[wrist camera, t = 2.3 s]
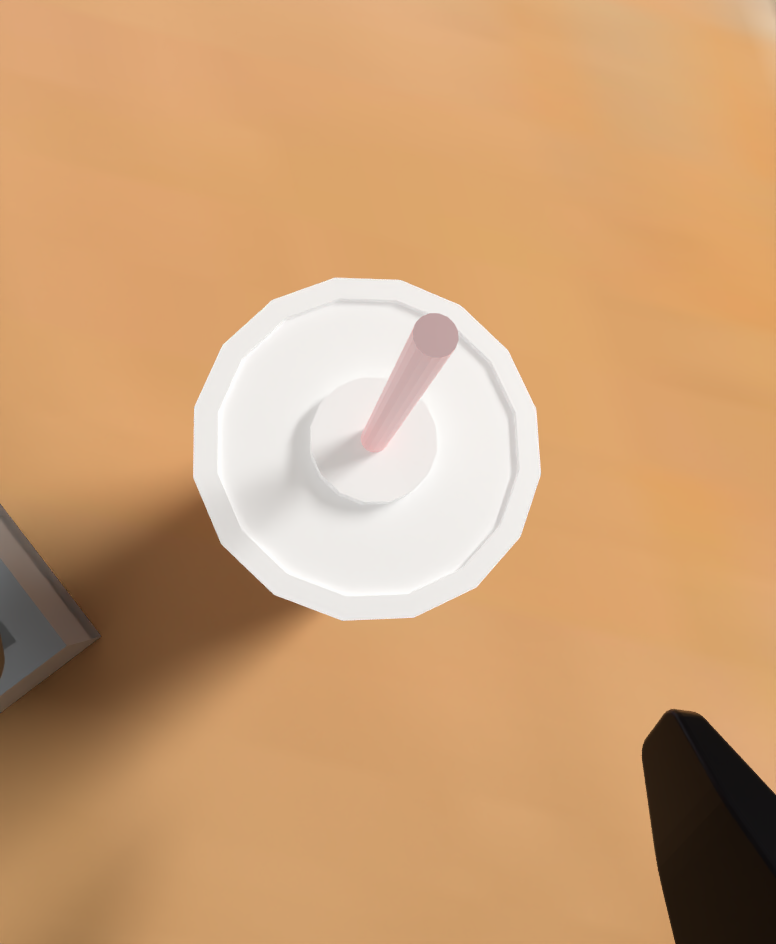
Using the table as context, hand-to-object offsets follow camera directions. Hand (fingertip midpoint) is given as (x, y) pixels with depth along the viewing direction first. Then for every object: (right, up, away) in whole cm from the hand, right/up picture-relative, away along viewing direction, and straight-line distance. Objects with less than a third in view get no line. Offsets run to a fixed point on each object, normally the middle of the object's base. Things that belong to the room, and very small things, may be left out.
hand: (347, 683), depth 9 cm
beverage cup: (-1, +2, +12) cm, 12 cm away
